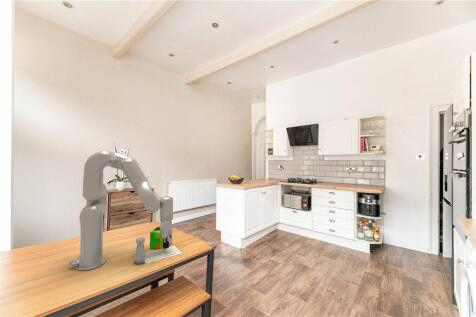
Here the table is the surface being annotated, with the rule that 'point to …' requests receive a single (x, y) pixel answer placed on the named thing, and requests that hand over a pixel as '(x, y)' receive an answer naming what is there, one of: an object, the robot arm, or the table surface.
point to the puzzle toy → (157, 239)
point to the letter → (161, 254)
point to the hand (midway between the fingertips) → (166, 247)
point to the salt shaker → (140, 251)
